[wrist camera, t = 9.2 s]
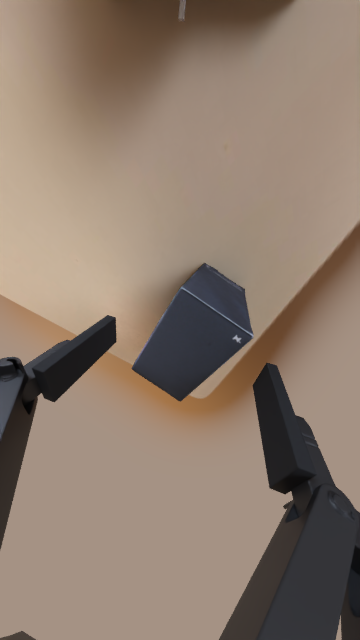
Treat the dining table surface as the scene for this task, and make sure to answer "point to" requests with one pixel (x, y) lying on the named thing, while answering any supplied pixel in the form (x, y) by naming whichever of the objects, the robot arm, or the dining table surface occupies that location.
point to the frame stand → (182, 10)
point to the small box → (196, 333)
